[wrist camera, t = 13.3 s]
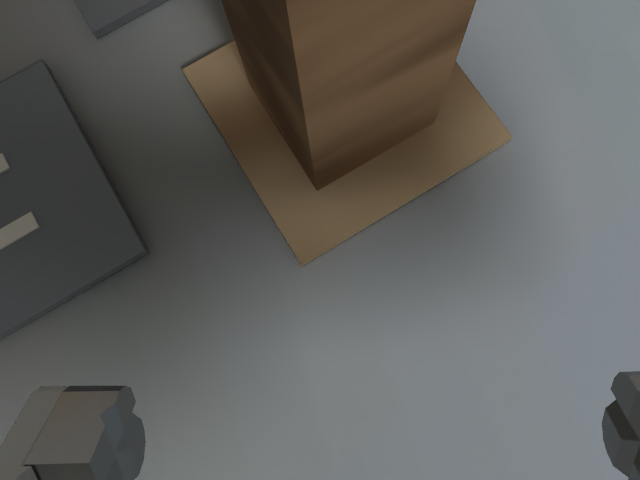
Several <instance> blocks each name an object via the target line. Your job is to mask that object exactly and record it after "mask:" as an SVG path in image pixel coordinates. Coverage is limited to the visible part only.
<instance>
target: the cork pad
mask: <svg viewBox="0 0 640 480" xmlns="http://www.w3.org/2000/svg"><path fill="white" fill-rule="evenodd" d="M182 71H183V72H184V74H185V76H186V78H187V79H188V81H189V83H190V84H191V86H192V88H193V89H194V91H195V92H196V94H197V96H198V97H199V99H200V101H201V102H202V104H203V106H204V107H205V109H206V110H207V112H208V114H209V115H210V117H211V119H212V120H213V122H214V124H215V125H216V127H217V128H218V130H219V132H220V133H221V135H222V137H223V138H224V140H225V142H226V143H227V145H228V146H229V148H230V150H231V151H232V153H233V155H234V156H235V158H236V160H237V161H238V163H239V165H240V166H241V168H242V169H243V171H244V173H245V174H246V176H247V178H248V179H249V181H250V183H251V184H252V186H253V187H254V189H255V191H256V192H257V194H258V196H259V197H260V199H261V201H262V202H263V204H264V205H265V207H266V209H267V210H268V212H269V214H270V215H271V217H272V219H273V220H274V222H275V224H276V225H277V227H278V228H279V230H280V232H281V233H282V235H283V237H284V238H285V240H286V242H287V243H288V245H289V246H290V248H291V250H292V251H293V253H294V255H295V256H296V258H297V260H298V261H299V263H300V264H301V266H303V265H305V264H307V263H308V262H310V261H312V260H313V259H315V258H316V257H318V256H320V255H321V254H323V253H325V252H326V251H328V250H330V249H331V248H333V247H335V246H336V245H338V244H340V243H341V242H343V241H345V240H346V239H348V238H350V237H351V236H353V235H355V234H356V233H358V232H360V231H361V230H363V229H365V228H366V227H368V226H370V225H371V224H373V223H375V222H376V221H378V220H380V219H381V218H383V217H385V216H386V215H388V214H389V213H391V212H393V211H394V210H396V209H398V208H399V207H401V206H403V205H404V204H406V203H408V202H409V201H411V200H413V199H414V198H416V197H418V196H419V195H421V194H423V193H424V192H426V191H428V190H429V189H431V188H433V187H434V186H436V185H438V184H439V183H441V182H443V181H444V180H446V179H448V178H449V177H451V176H453V175H454V174H456V173H458V172H459V171H461V170H462V169H464V168H466V167H467V166H469V165H471V164H472V163H474V162H476V161H477V160H479V159H481V158H482V157H484V156H486V155H487V154H489V153H491V152H492V151H494V150H496V149H497V148H499V147H501V146H502V145H504V144H506V143H507V142H509V141H510V139H511V138H512V136H511V134H510V133H509V132H508V130H507V129H506V128H505V126H504V125H503V124H502V122H501V121H500V120H499V118H498V117H497V116H496V114H495V113H494V112H493V110H492V109H491V108H490V106H489V105H488V104H487V102H486V101H485V100H484V98H483V97H482V96H481V94H480V93H479V92H478V90H477V89H476V88H475V86H474V85H473V84H472V82H471V81H470V80H469V78H468V77H467V76H466V75H465V73H464V72H463V71H462V69H461V68H460V67H459V65H458V64H457V63H456V61H455V64H454V67H453V70H452V73H451V76H450V79H449V82H448V85H447V88H446V91H445V94H444V97H443V100H442V103H441V106H440V108H439V111H438V114H437V117H436V120H435V123H433V124H432V125H430V126H428V127H426V128H425V129H423V130H421V131H420V132H418V133H416V134H414V135H413V136H411V137H409V138H408V139H406V140H404V141H402V142H401V143H399V144H397V145H396V146H394V147H392V148H390V149H389V150H387V151H385V152H384V153H382V154H380V155H378V156H377V157H375V158H373V159H372V160H370V161H368V162H366V163H365V164H363V165H361V166H360V167H358V168H356V169H354V170H353V171H351V172H349V173H348V174H346V175H344V176H342V177H341V178H339V179H337V180H336V181H334V182H332V183H330V184H329V185H327V186H325V187H323V188H322V189H320V190H318V191H317V190H316V189H315V187H314V186H313V184H312V183H311V181H310V179H309V178H308V176H307V175H306V173H305V171H304V170H303V168H302V167H301V165H300V163H299V162H298V160H297V159H296V157H295V155H294V154H293V152H292V151H291V149H290V148H289V146H288V144H287V143H286V141H285V140H284V138H283V136H282V135H281V133H280V132H279V130H278V128H277V127H276V125H275V124H274V122H273V121H272V119H271V117H270V116H269V114H268V113H267V111H266V109H265V108H264V106H263V105H262V103H261V101H260V100H259V98H258V97H257V95H256V93H255V92H254V90H253V89H252V87H251V86H250V84H249V81H248V78H247V75H246V72H245V69H244V66H243V63H242V60H241V57H240V54H239V51H238V48H237V45H236V42H235V40H234V41H232V42H230V43H228V44H227V45H225V46H223V47H221V48H220V49H218V50H216V51H214V52H212V53H211V54H209V55H207V56H205V57H203V58H202V59H200V60H198V61H196V62H195V63H193V64H191V65H189V66H187V67H186V68H184V69H182Z"/></svg>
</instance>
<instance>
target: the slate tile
mask: <svg viewBox="0 0 640 480" xmlns="http://www.w3.org/2000/svg"><path fill="white" fill-rule="evenodd" d="M74 1H75V2H76V4H77V6H78V8H79V9H80V11H81V13H82V15H83V16H84V18H85V20H86V22H87V23H88V25H89V27H90V28H91V30H92V32H93V33H94V35H95V36H96V38H97V39H98V38H100V37H102V36H104V35H106V34H108V33H109V32H111V31H113V30H115V29H117V28H118V27H120V26H122V25H124V24H126V23H128V22H129V21H131V20H133V19H135V18H137V17H139V16H140V15H142V14H144V13H146V12H148V11H150V10H151V9H153V8H155V7H157V6H159V5H161V4H162V3H164V2H166V1H168V0H74Z"/></svg>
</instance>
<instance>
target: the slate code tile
mask: <svg viewBox="0 0 640 480" xmlns="http://www.w3.org/2000/svg"><path fill="white" fill-rule="evenodd" d="M148 253H149V251H148V249H147V248H146V246H145V244H144V242H143V240H142V238H141V237H140V235H139V233H138V231H137V229H136V227H135V226H134V224H133V222H132V220H131V218H130V216H129V215H128V213H127V211H126V209H125V207H124V205H123V204H122V202H121V200H120V198H119V196H118V194H117V192H116V191H115V189H114V187H113V185H112V183H111V181H110V180H109V178H108V176H107V174H106V172H105V170H104V169H103V167H102V165H101V163H100V161H99V159H98V158H97V156H96V154H95V152H94V150H93V148H92V147H91V145H90V143H89V141H88V139H87V137H86V135H85V134H84V132H83V130H82V128H81V126H80V124H79V123H78V121H77V119H76V117H75V115H74V113H73V112H72V110H71V108H70V106H69V104H68V102H67V101H66V99H65V97H64V95H63V93H62V91H61V89H60V88H59V86H58V84H57V82H56V80H55V78H54V77H53V75H52V73H51V71H50V69H49V67H48V66H47V65H46V64H45V63H44V62H43V61H42V60H41V61H40V62H38V63H36V64H34V65H32V66H30V67H29V68H27V69H25V70H23V71H21V72H19V73H18V74H16V75H14V76H12V77H10V78H8V79H7V80H5V81H3V82H1V83H0V340H1V339H3V338H5V337H7V336H8V335H10V334H12V333H13V332H15V331H17V330H18V329H20V328H22V327H24V326H25V325H27V324H29V323H30V322H32V321H34V320H36V319H37V318H39V317H41V316H42V315H44V314H46V313H47V312H49V311H51V310H53V309H54V308H56V307H58V306H59V305H61V304H63V303H65V302H66V301H68V300H70V299H71V298H73V297H75V296H76V295H78V294H80V293H82V292H83V291H85V290H87V289H88V288H90V287H92V286H94V285H95V284H97V283H99V282H100V281H102V280H104V279H106V278H107V277H109V276H111V275H112V274H114V273H116V272H117V271H119V270H121V269H123V268H124V267H126V266H128V265H129V264H131V263H133V262H135V261H136V260H138V259H140V258H141V257H143V256H145V255H146V254H148Z"/></svg>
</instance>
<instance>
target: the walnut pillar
mask: <svg viewBox="0 0 640 480" xmlns="http://www.w3.org/2000/svg"><path fill="white" fill-rule="evenodd" d="M475 2H476V0H222V3H223V6H224V9H225V12H226V15H227V18H228V21H229V24H230V27H231V30H232V33H233V36H234V39H235V42H236V45H237V48H238V51H239V54H240V57H241V60H242V63H243V66H244V69H245V72H246V75H247V78H248V81H249V84H250V86H251V87H252V89H253V90H254V92H255V93H256V95H257V97H258V98H259V100H260V101H261V103H262V105H263V106H264V108H265V109H266V111H267V113H268V114H269V116H270V117H271V119H272V121H273V122H274V124H275V125H276V127H277V128H278V130H279V132H280V133H281V135H282V136H283V138H284V140H285V141H286V143H287V144H288V146H289V148H290V149H291V151H292V152H293V154H294V155H295V157H296V159H297V160H298V162H299V163H300V165H301V167H302V168H303V170H304V171H305V173H306V175H307V176H308V178H309V179H310V181H311V183H312V184H313V186H314V187H315V189H316V190H317V191H318V190H320V189H322V188H323V187H325V186H327V185H329V184H330V183H332V182H334V181H336V180H337V179H339V178H341V177H342V176H344V175H346V174H348V173H349V172H351V171H353V170H354V169H356V168H358V167H360V166H361V165H363V164H365V163H366V162H368V161H370V160H372V159H373V158H375V157H377V156H378V155H380V154H382V153H384V152H385V151H387V150H389V149H390V148H392V147H394V146H396V145H397V144H399V143H401V142H402V141H404V140H406V139H408V138H409V137H411V136H413V135H414V134H416V133H418V132H420V131H421V130H423V129H425V128H426V127H428V126H430V125H432V124H433V123H435V120H436V117H437V114H438V111H439V108H440V106H441V103H442V100H443V97H444V94H445V91H446V88H447V85H448V82H449V79H450V76H451V73H452V70H453V67H454V64H455V61H456V58H457V55H458V52H459V49H460V46H461V43H462V41H463V38H464V35H465V32H466V29H467V26H468V23H469V20H470V17H471V14H472V11H473V8H474V5H475Z"/></svg>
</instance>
